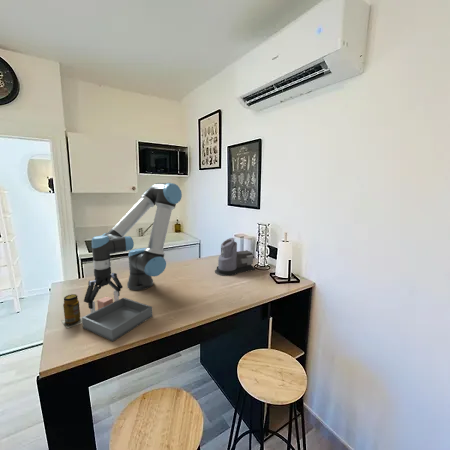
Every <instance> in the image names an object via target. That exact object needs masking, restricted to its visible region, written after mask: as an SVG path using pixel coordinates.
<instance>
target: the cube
mask: <svg viewBox="0 0 450 450" xmlns="http://www.w3.org/2000/svg"><path fill="white" fill-rule="evenodd" d="M96 302H97V310H98V309H101V308H103V307H105V306H107V305H109V304H111V303H113V302H114V297H113V298H112V297H110V296H106V295H105V296H103V297H102V298H99V299H97V300H96Z"/></svg>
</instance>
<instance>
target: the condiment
mask: <svg viewBox="0 0 450 450" xmlns="http://www.w3.org/2000/svg"><path fill="white" fill-rule="evenodd" d="M62 308H63V314H64V320H61V323H62V324H63V325H64V327H65V328H66V329H69V328H73V327H75V326H79V325H80V324H83V323H82V317H81V309H80V300H79V299H78V295H77V294H73V293H71V294H68V295H67V294H66V295H65V296H64V297H63V306H62Z"/></svg>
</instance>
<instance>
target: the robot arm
mask: <svg viewBox="0 0 450 450" xmlns="http://www.w3.org/2000/svg"><path fill="white" fill-rule="evenodd" d="M182 195H183V194H182V190H181V188H180V187H179V185H178V184H176V183H172V182H157V183H154V184H152V185H151V186H150V187H149V188H147V189H146V190H145V191H144V192H143V193H142V194H141V195H140V199H139V200H138V201H136V203H135V204H134V205H133V206H132V207H130V209H129V210H128V211H127V212H126V214H125V215H124V216H123V217H122V218H120V220H119V221H118V222H117V223H116V224H115V225H114V226H113V227H111V229H110V230H109V231H108V232H104V233H103V234H102V235H96V236H93V237H92V238H91V250H92V251H91V252H92V262H93V263H92V265H93V277H94V280H88V284H87V289H86V292H85V294H84V299H83V302H84V303H86V304H88V308H89V309H90V313H92V312H94V311H96V302H95V301H94V300H95V298H96V296H97V295H98V293H99V291H100V290H101V288H103V287H105V286H108V285H109V286H110V287H111V288H112V289H113V302H115V301H117V300H120V299H119V298H120V293H121V291H122V290H121V289H123V285H122V283H121V282H120V280H119V277H118V273H115V272H112V267H111V264H112V263H111V255H112V254H117V253H123V252H128V251H129V252H128V267H129V268H128V269H129V276H128V281H127V284H126V285H127V286H126V287H127V288H129V290H131V289H132V290H131V291H143V290H146V289H148V288H149V289H150V288H151V287H153V285H154V280H153V277H158V276H160V275H162V273H164V272H165V270H166V267H167V260H166V259H165V255H166V254H165V252H164V246H165V242H166V237H167V234H168V229H169V224H170V220H171V216H172V211H173V210H174V209H175V208H176V207H177V206H176V204H178V203H179V202H180V201H182V197H183V196H182ZM155 206H156V210H155V215H154V219H153V223H152V228H151V230H150V231H151V232H150V236H149V240H148V244H147V247H143V248H135V249H134V244H135V243H134V239H133V237H131V236H130V235H128V236H126V235H127V233H128V232H130V230H131V229H132V228H133V227H134V226H135V225H136V224H137V223H138V222H139V220H140V219H141V218H142V217H143V216H144V215H145V214H146V213H147V212H148V210H149V209H151V208H153V207H155ZM111 279H112V280H113V281H112V280H111Z"/></svg>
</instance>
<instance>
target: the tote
mask: <svg viewBox="0 0 450 450" xmlns="http://www.w3.org/2000/svg"><path fill="white" fill-rule="evenodd" d="M152 317H153V306H151V305H147V304H145V303H142V302H138V301H135V300H132V299H129V298H126V297H122V298H120V299H119V300H117V301H115V302H114V301H113V303H111V304H109V305H107V306H105V307H103V308H101V309H98V308H97V309H95V311H94V312H92V313H91V312H90V313H87V314H86V315H84V316H82V317H81V318H82V323H81V324H82V328H83V329H84V330H86V331H89V332H91V333H94V334H95V335H98V336H100V337H101V338H104V339H106V340H108V341H110V342H115V341H116V340H117V339H119V338H122V336H124V335H126V334H128V333H129V332H130V331H132V330H134V329H135V328H137V327H138V326H141V325H142V324H143V323H145V322H147V321H148V320H149V319H152Z"/></svg>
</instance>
